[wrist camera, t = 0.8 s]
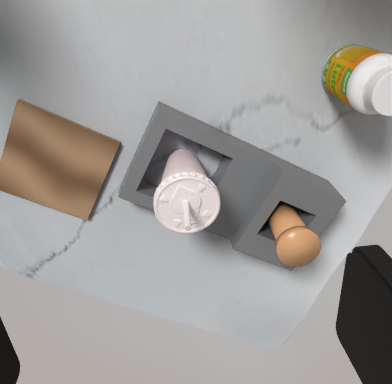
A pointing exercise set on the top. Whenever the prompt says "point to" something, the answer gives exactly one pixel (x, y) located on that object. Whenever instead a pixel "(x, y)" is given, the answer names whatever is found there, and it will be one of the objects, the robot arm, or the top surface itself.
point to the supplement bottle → (360, 79)
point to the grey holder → (238, 184)
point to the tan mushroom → (292, 236)
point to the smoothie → (186, 195)
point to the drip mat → (54, 160)
